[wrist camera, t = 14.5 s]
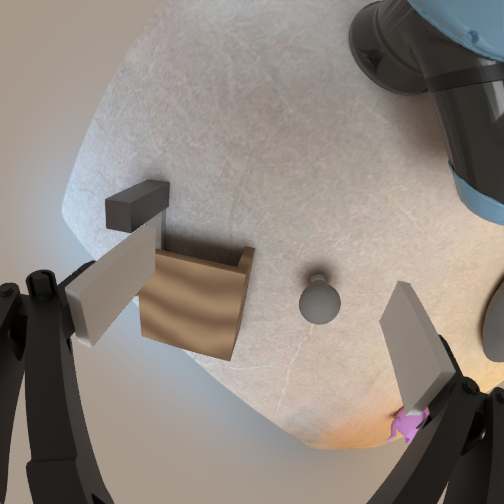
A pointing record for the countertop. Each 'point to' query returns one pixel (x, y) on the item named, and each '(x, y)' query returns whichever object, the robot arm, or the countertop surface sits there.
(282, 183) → the countertop surface
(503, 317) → the flat disc
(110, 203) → the l-shaped hook tool
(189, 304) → the shelf
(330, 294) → the light bulb
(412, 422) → the teapot
